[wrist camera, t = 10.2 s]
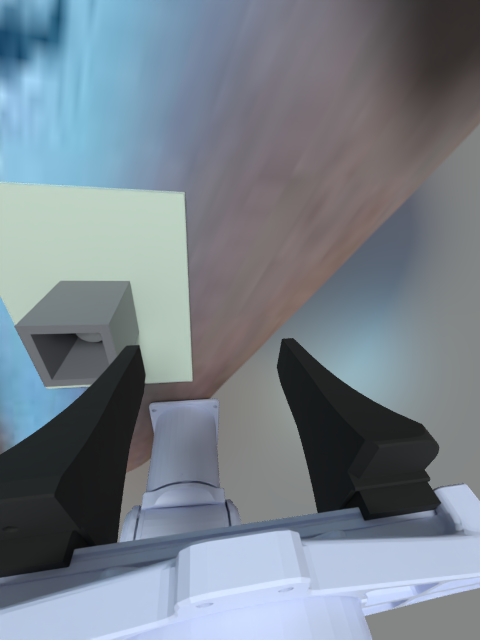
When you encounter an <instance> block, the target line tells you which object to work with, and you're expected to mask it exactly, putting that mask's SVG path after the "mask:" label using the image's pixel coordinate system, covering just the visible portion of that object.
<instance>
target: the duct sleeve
mask: <svg viewBox="0 0 480 640" xmlns="http://www.w3.org/2000/svg"><path fill="white" fill-rule="evenodd" d="M14 327H15V328H16V330H17V332H18V334H19V336H20V338H21V340H22V342H23V344H24V346H25V348H26V350H27V352H28V354H29V356H30V358H31V360H32V362H33V364H34V366H35V368H36V370H37V372H38V374H39V376H40V378H41V380H42V382H43V384H44V386H45V387H54V386H73V385H92V384H93V383H94V382H95V381H96V380H97V379H98V378H99V377H100V375H101V374H102V373H103V372H104V371H105V370H106V369H107V368H108V367H109V365H110V364H111V363H112V362H113V361H114V359H115V358H116V357H117V356H118V355H119V353H120V352H121V351H122V350H123V349H124V347H126V346H129V345H135V344H136V341H137V338H138V334H139V328H138V323H137V317H136V312H135V306H134V301H133V295H132V290H131V284H130V281H59V282H58V283H57V284H56V285H55V286H54V287H53V288H52V289H51V290H50V291H49V292H48V293H47V294H46V295H45V296H44V297H43V298H42V299H41V300H40V301H39V302H38V303H37V304H36V305H35V306H34V307H33V308H32V309H31V310H30V311H29V312H28V313H27V314H26V315H25V316H24V317H23V318H22V319H21V320H20V321H19V322H18V323H17V324H16V325H15V326H14ZM76 333H100V334H101V338H102V341H100V342H87V341H85V340H82V339H81V338H79V337H78V336H77V335H76Z"/></svg>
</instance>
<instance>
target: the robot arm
mask: <svg viewBox="0 0 480 640" xmlns="http://www.w3.org/2000/svg"><path fill="white" fill-rule="evenodd" d="M277 369H278V374H279V379H280V382H281V386H282V388H283V391H284V394H285V396H286V399H287V401H288V404H289V406H290V409H291V412H292V414H293V417H294V420H295V422H296V425H297V428H298V432H299V435H300V439H301V442H302V446H303V450H304V454H305V458H306V461H307V466H308V470H309V474H310V479H311V483H312V487H313V492H314V497H315V502H316V507H317V511H318V513H316V514H309V515H303V516H296V517H289V518H283V519H276V520H269V521H262V522H255V523H249V524H241V519H240V515H239V512H238V509H237V507H236V506H235V505H234V504H233V502H232V501H231V500H230V499H228V500H225V494H224V488H220V483H219V470H218V469H219V468H218V454H217V444H218V422H219V400H218V399H203V400H187V401H172V402H156V403H151V404H150V406H149V410H150V415H151V420H152V425H153V431H154V440H153V447H152V454H151V461H150V468H149V474H148V482H147V489H146V493H144V494H143V499H142V506H134V507H133V508H132V510H131V511H130V512H129V513H128V514H127V515H126V518H125V521H124V524H123V528H122V532H121V537H120V542H119V543H117V539H118V529H119V520H120V512H121V504H122V496H123V488H124V481H125V474H126V468H127V461H128V455H129V449H130V444H131V439H132V435H133V431H134V427H135V424H136V420H137V416H138V412H139V409H140V405H141V401H142V397H143V393H144V386H145V378H146V373H145V369H144V364H143V359H142V354H141V350H140V345H129V346H126V347H124V349H123V350H122V351H121V352H120V353H119V355H118V356H117V357H116V358H115V359H114V361H113V362H112V363H111V364H110V365H109V367H108V368H107V369H106V370H105V371H104V372H103V373H102V374H101V375H100V377H99V378H98V379H97V380H96V381H95V382H94V383H93V384H92V385H91V386H90V387H89V388H88V389H87V390H86V391H85V392H84V393H83V394H82V395H81V396H80V397H79V398H78V399H76V400H75V401H74V402H73V403H72V404H71V405H70V406H68V407H67V408H66V409H65V410H64V411H63V412H61V413H60V414H59V415H57V416H56V417H55V418H53V419H52V420H51V421H50V422H48V423H47V424H46V425H44V426H43V427H42V428H40V429H39V430H37V431H36V432H35V433H33V434H32V435H30V436H29V437H27V438H26V439H24V440H23V441H21V442H20V443H18V444H17V445H15V446H14V447H12V448H10V449H9V450H7V451H6V452H4V453H2V454H1V455H0V640H373V639H372V637H371V634H370V631H369V628H368V625H367V623H366V620H365V617H364V616H367V615H371V614H375V613H379V612H383V611H386V610H390V609H394V608H398V607H402V606H406V605H410V604H414V603H418V602H422V601H426V600H429V599H433V598H438V597H442V596H446V595H450V594H454V593H459V592H462V591H467V590H472V589H476V588H480V501H479V500H478V499H477V497H476V496H475V495H474V493H473V492H472V491H471V490H470V489H469V487H468V486H467V485H466V484H464V483H462V484H454V485H447V486H441V487H438V488H436V489H434V490H432V488H431V487H430V485H429V484H428V481H430V477H429V476H428V474H427V473H426V471H425V469H426V467H427V466H428V465H429V464H430V463H431V462H432V461H433V460H434V459H435V457H436V456H437V454H438V451H439V445H438V444H437V442H436V441H435V440H434V438H433V437H432V436H431V435H430V434H429V432H428V431H427V430H426V429H425V427H424V426H423V425H422V424H420V423H418V422H416V421H413V420H411V419H409V418H407V417H404V416H402V415H400V414H397V413H395V412H393V411H391V410H389V409H388V408H386V407H383V406H382V405H380V404H378V403H376V402H374V401H372V400H371V399H369V398H367V397H366V396H364V395H362V394H361V393H359V392H357V391H356V390H354V389H353V388H351V387H350V386H348V385H347V384H346V383H344V382H343V381H341V380H340V379H339V378H337V377H336V376H335V375H333V374H332V373H331V372H330V371H328V370H327V369H326V368H325V367H323V366H322V365H321V364H320V363H319V362H318V361H317V360H316V359H315V358H313V357H312V356H311V355H310V354H309V353H308V352H307V351H306V350H305V349H304V348H303V347H302V346H301V345H300V344H299V343H298V342H296V340H294V339H293V338H288V339H282V342H281V347H280V353H279V358H278V364H277Z"/></svg>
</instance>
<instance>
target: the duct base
mask: <svg viewBox="0 0 480 640" xmlns="http://www.w3.org/2000/svg"><path fill="white" fill-rule="evenodd" d="M59 281H130V284H131V290H132V295H133V301H134V306H135V312H136V317H137V323H138V328H139V334H138V338H137V341H136V344H135V345H140V350H141V354H142V359H143V364H144V369H145V373H146V378H145V383H164V382H183V381H192V376H193V373H192V350H191V326H190V302H189V279H188V255H187V231H186V208H185V192H172V191H155V190H138V189H120V188H103V187H86V186H69V185H51V184H34V183H17V182H0V296H1V298H2V300H3V302H4V304H5V306H6V308H7V310H8V312H9V314H10V316H11V318H12V320H13V322H14V324H15V325H16V324H17V323H18V322H19V321H20V320H21V319H22V318H23V317H24V316H25V315H26V314H27V313H28V312H29V311H30V310H31V309H32V308H33V307H34V306H35V305H36V304H37V303H38V302H39V301H40V300H41V299H42V298H43V297H44V296H45V295H46V294H47V293H48V292H49V291H50V290H51V289H52V288H53V287H54V286H55V285H56V284H57V283H58V282H59ZM76 335H77V336H78V337H79V338H81V339H82V340H85V341H87V342H100V341H102V338H101V334H100V333H76ZM89 386H91V385H73V386H54V387H46V388H47V389H51V388H70V387H89Z"/></svg>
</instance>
